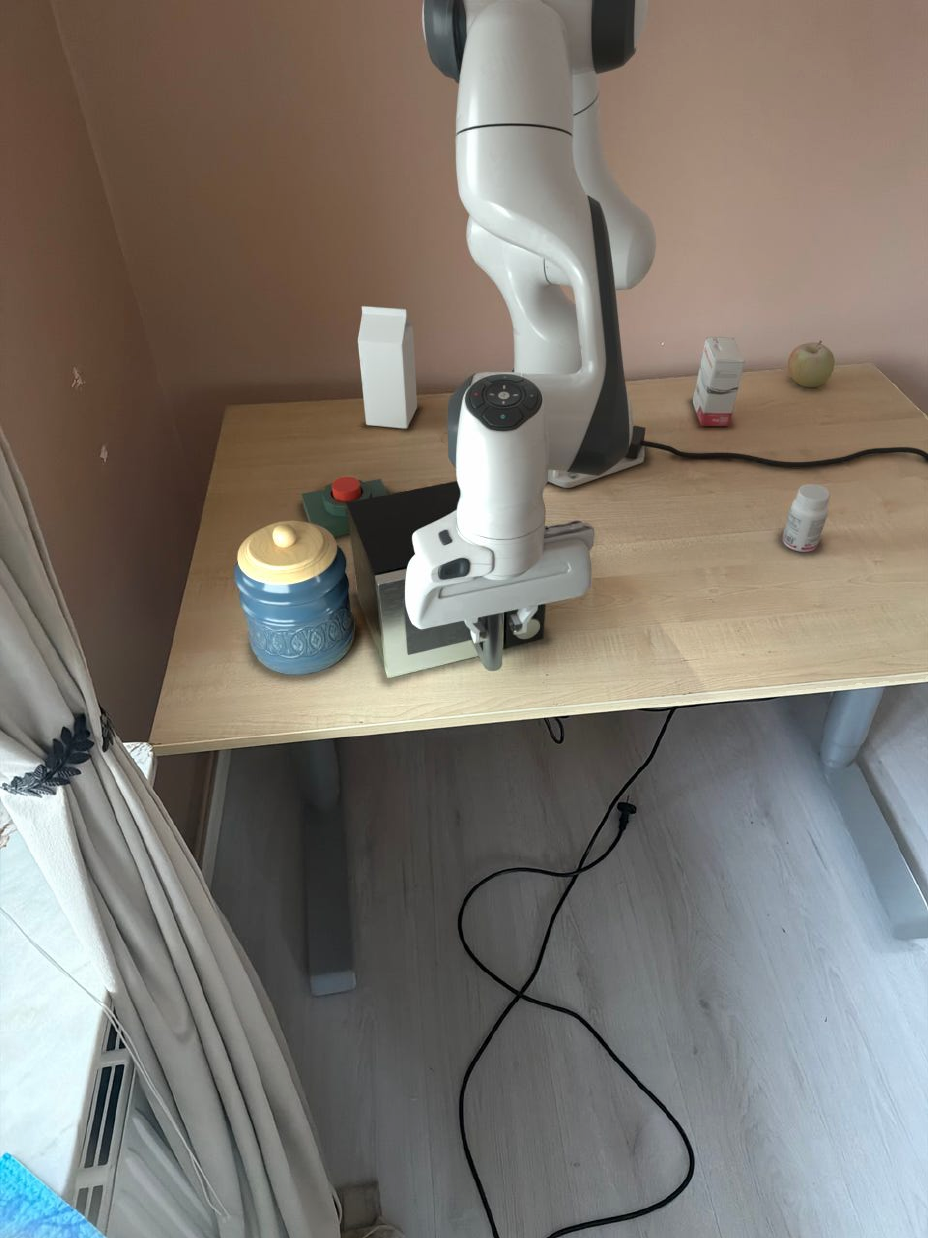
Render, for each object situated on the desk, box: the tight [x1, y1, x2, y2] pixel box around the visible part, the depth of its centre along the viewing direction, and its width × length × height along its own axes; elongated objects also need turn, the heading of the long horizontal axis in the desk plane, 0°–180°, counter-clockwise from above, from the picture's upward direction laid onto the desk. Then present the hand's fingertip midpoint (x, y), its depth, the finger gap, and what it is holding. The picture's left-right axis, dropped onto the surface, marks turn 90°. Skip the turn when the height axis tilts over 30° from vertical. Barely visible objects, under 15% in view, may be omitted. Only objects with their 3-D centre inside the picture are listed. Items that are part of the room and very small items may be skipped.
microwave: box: [346, 480, 547, 668], centre depth 109 cm, size 16×20×15 cm
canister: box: [233, 520, 356, 676], centre depth 106 cm, size 13×13×18 cm
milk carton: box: [357, 305, 418, 429], centre depth 145 cm, size 7×7×19 cm
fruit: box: [787, 340, 835, 388], centre depth 155 cm, size 8×7×8 cm
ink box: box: [692, 336, 746, 427], centre depth 147 cm, size 9×5×12 cm, turn 179°
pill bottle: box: [782, 483, 831, 553], centre depth 122 cm, size 5×5×8 cm
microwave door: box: [375, 569, 504, 679], centre depth 102 cm, size 7×15×15 cm, turn 108°
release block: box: [301, 478, 389, 538], centre depth 130 cm, size 12×9×4 cm
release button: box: [331, 476, 361, 502], centre depth 128 cm, size 4×4×2 cm
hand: (498, 634), depth 100 cm, fingers open, 3 cm apart
